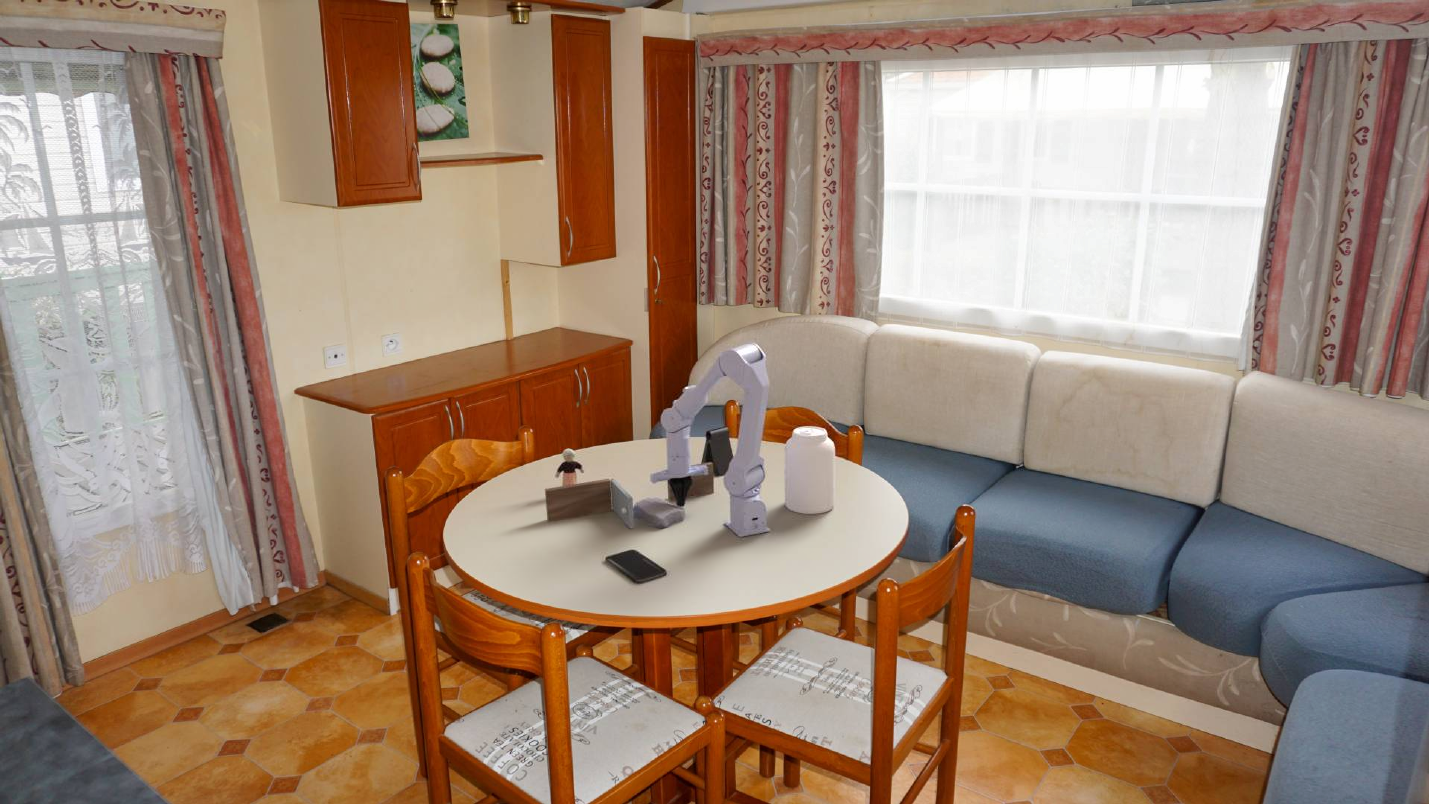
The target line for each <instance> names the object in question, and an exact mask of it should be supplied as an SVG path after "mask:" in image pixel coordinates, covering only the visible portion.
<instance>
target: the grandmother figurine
mask: <svg viewBox="0 0 1429 804" xmlns="http://www.w3.org/2000/svg"><path fill="white" fill-rule="evenodd" d="M575 456H576V452H575V451H574V450H573V449H572V448H566V449H564V450H563V451H562V458H563V460H564V461H562V462H561V464H560V465H559V467H558V468H557V469H556V472H555V475H554V476H555V478H557V479H558V478H559V477H560V475H561V473H562V472H563V473H562V483H561V484H562V486H567V485H573V484H578V478H577V471H576V470H579V471H580V473H581V474H584V473H585V470H584V468H583V465H582V464H581V463H579V462H578V461H575V460H574V458H575Z"/></svg>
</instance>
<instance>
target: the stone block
mask: <svg viewBox="0 0 1429 804" xmlns="http://www.w3.org/2000/svg"><path fill="white" fill-rule="evenodd" d="M685 517H686V510H685V508H684V506H683V507H680V506H679V505H677V504H676V505H675V504H673V503H671V502H669V501H667V500H666V499H663V498H661V497H648V498H643V499H641V500H639V501H636V502H635V503H633V518H634V519H638V520H640V521H641V522H644V523H646V524H649V525H651V526H653V527H655V528H661V529H665V528H667V527H670V526H672V525H675V524H677V523H681V522H683V521H684V519H685Z"/></svg>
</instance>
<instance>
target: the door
mask: <svg viewBox="0 0 1429 804" xmlns="http://www.w3.org/2000/svg"><path fill="white" fill-rule="evenodd" d="M610 483H611V500H612V511H614V512H615V513H616V514H617V515H618V517H619V518H620V519H621V520H622V521H623V522H624V523H625V524H626V525H627V527H628V528H629V529H635V523H634V519H635V517H634V515H633V507H634V503H633V500H634V499H633V497H632V496H631V495H630V493H628V491H627V490H626V489H625V488H624V487H622V485H621V484H620V483H619V482H617V480H616V479H615V478H611V479H610Z"/></svg>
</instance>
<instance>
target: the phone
mask: <svg viewBox="0 0 1429 804" xmlns="http://www.w3.org/2000/svg"><path fill="white" fill-rule="evenodd" d="M604 561H605V563H606V564H608V565H609V566H610V567H612V568H613V569H615V570H616V571H617V572H619V573H620V574H621V575H623V576H624V577H626V578H627V579H629V580H630V581H631V582H633V583H634V584H637V585H638V584H639V585H640V584H644V583H647V582H652V581H653V580H657V579H660V578H663V577H666V576H667V569H665V568H663V566H660V565H659V564H658V563H656V562H654V560H652V559H650V558H649V557H647V556H646V555H644V554H642V553H641V552H640V551H638V550H637V549H628V550H626V551H621V552H617V553H613V554H611V555H607V556H605V560H604Z"/></svg>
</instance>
